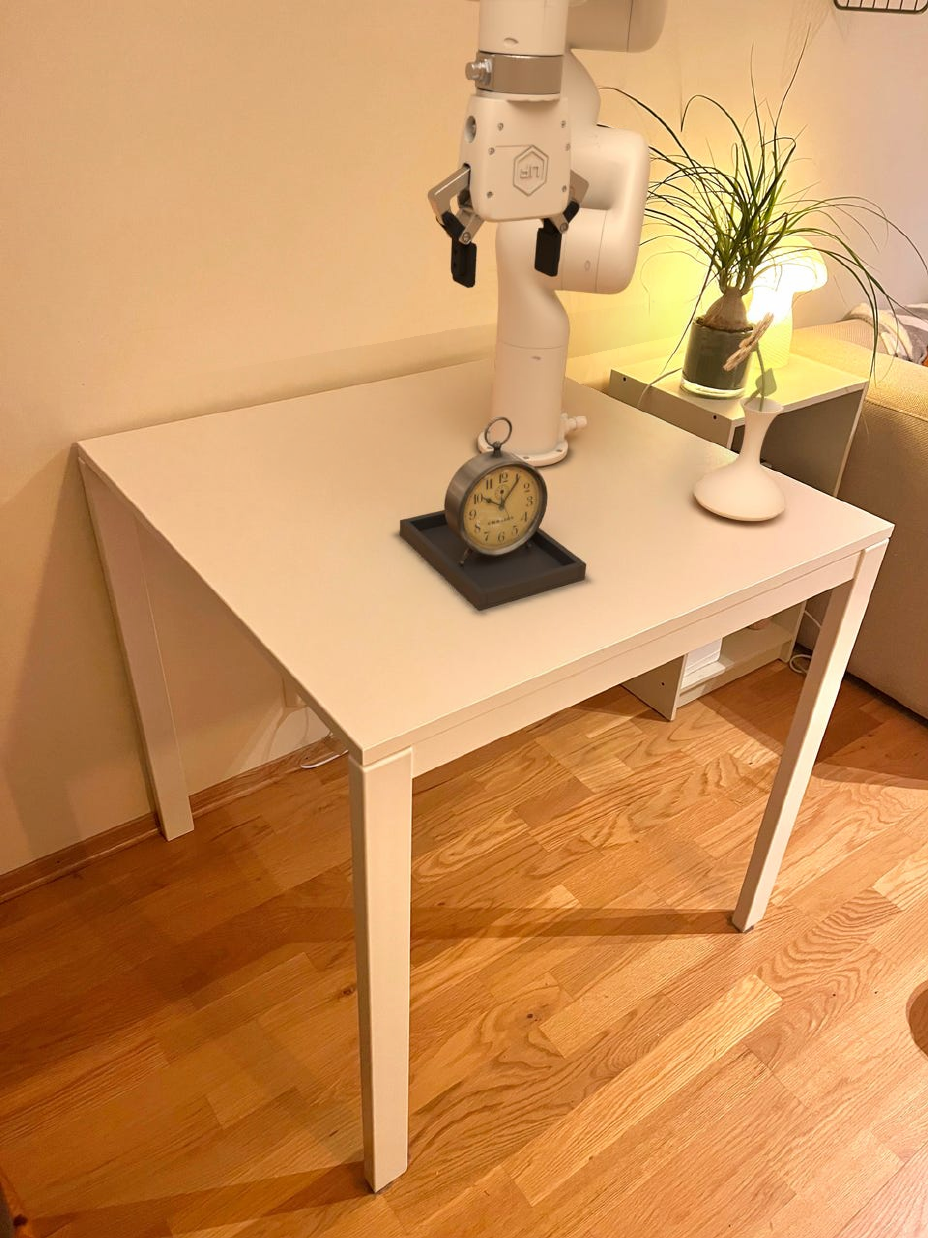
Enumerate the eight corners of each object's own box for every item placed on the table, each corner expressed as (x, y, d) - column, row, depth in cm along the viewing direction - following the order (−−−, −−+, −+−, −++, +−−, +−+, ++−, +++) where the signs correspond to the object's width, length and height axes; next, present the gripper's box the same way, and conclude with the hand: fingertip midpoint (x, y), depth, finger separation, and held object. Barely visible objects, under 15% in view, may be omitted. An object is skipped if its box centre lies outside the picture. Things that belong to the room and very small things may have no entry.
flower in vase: (722, 480, 123) (766, 288, 108) (799, 511, 116) (856, 311, 102) (665, 509, 115) (705, 307, 101) (745, 544, 108) (798, 333, 94)
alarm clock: (457, 574, 99) (465, 433, 90) (436, 551, 103) (440, 414, 93) (544, 554, 103) (559, 418, 94) (520, 533, 107) (532, 400, 98)
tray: (497, 511, 112) (499, 496, 111) (584, 579, 100) (586, 563, 99) (399, 535, 106) (399, 519, 105) (479, 610, 94) (480, 594, 93)
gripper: (456, 83, 73) (449, 299, 83) (623, 81, 81) (598, 279, 91) (411, 73, 79) (409, 277, 89) (572, 71, 86) (554, 260, 96)
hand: (505, 278), depth 90 cm, fingers open, 9 cm apart
